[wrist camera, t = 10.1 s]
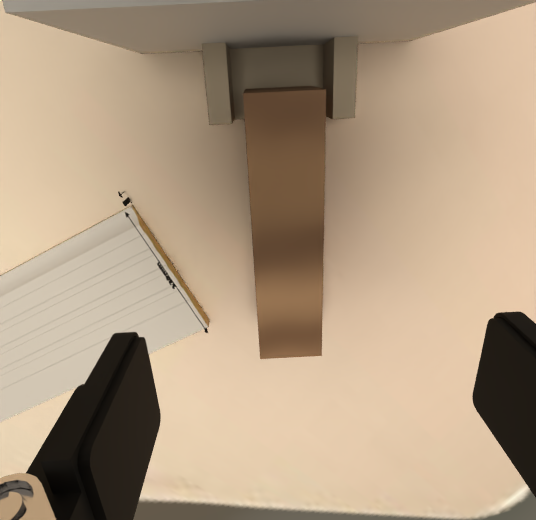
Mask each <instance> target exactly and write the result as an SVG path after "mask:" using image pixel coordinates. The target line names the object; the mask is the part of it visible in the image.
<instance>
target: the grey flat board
mask: <svg viewBox="0 0 536 520" xmlns="http://www.w3.org/2000/svg"><path fill="white" fill-rule="evenodd" d="M118 193H119V196H121V197H122V194H123V193H124V192H123V193H122V194H120V192H118ZM129 203H130V199H129V198H127V199H126V200H124V201H123V204H124V205H125V206H126V205H127V204H129ZM131 203H132V202H131ZM209 322H210V321H209V319H208V317H207V316H206V314H205V313H204V311H203V310H202V308H201V307H200V305H199V304H198V302H197V301H196V299H195V298H194V296H193V295H192V293H191V292H190V290H189V289H188V287H187V286H186V284H185V283H184V281H183V280H182V278H181V277H180V275H179V274H178V272H177V271H176V269H175V268H174V266H173V265H172V263H171V262H170V260H169V259H168V257H167V256H166V254H165V253H164V251H163V250H162V248H161V247H160V245H159V244H158V242H157V241H156V239H155V238H154V236H153V235H152V233H151V232H150V230H149V229H148V227H147V226H146V224H145V223H144V221H143V220H142V218H141V217H140V216H139V214H138V213H137V211H136V210H135V208H134V207H133V205H132V206H130V207H128V208H126V209H124V210H122V211H120V212H119V213H117V214H115V215H113V216H111V217H109V218H107V219H105V220H104V221H102V222H100V223H98V224H96V225H94V226H92V227H90V228H89V229H87V230H85V231H83V232H81V233H79V234H77V235H75V236H74V237H72V238H70V239H68V240H66V241H64V242H62V243H60V244H59V245H57V246H55V247H53V248H51V249H49V250H47V251H45V252H44V253H42V254H40V255H38V256H36V257H34V258H32V259H30V260H29V261H27V262H25V263H23V264H21V265H19V266H17V267H15V268H14V269H12V270H10V271H8V272H6V273H4V274H2V275H0V422H2V421H4V420H7V419H9V418H11V417H13V416H15V415H18V414H20V413H22V412H24V411H26V410H28V409H31V408H33V407H35V406H37V405H39V404H42V403H44V402H46V401H48V400H50V399H52V398H55V397H57V396H59V395H61V394H63V393H66V392H68V391H70V390H72V389H74V388H76V387H78V386H80V385H81V384H85V382H86V380H87V379H88V377H89V375H90V373H91V372H92V370H93V368H94V366H95V365H96V363H97V361H98V359H99V358H100V356H101V354H102V352H103V351H104V349H105V347H106V346H107V344H108V342H109V340H110V339H111V337H112V335H113V334H114V333H123V332H137V334H138V335H139V337H144V338H145V340H146V344H147V349H148V354H151V353H153V352H155V351H157V350H159V349H162V348H164V347H166V346H168V345H170V344H173V343H175V342H177V341H179V340H181V339H183V338H186V337H188V336H190V335H192V334H194V333H197V332H199V331H201V330H203V329H205V328H206V329H205V332H206V333H208V331H207V327H209Z"/></svg>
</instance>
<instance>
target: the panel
mask: <svg viewBox="0 0 536 520" xmlns="http://www.w3.org/2000/svg"><path fill="white" fill-rule="evenodd" d="M2 1H3V5H4V9H5V13H9V14H12V15H15V16H19V17H22V18H25V19H29V20H32V21H35V22H39V23H42V24H45V25H48V26H52V27H55V28H58V29H62V30H65V31H68V32H72V33H75V34H78V35H82V36H85V37H88V38H92V39H95V40H98V41H101V42H105V43H108V44H111V45H115V46H118V47H121V48H125V49H128V50H131V51H135V52H138V53H141V54H148V53H169V52H190V51H202V53H203V64H204V74H205V84H206V95H207V105H208V115H209V125H221V124H232V123H233V121H234V120H235V119H245V117H244V101H243V93H244V91H245V89H255V88H275V87H296V86H315V87H319V88H323V89H326V117H329V118H331V119H344V118H355V102H356V77H357V52H358V43H379V42H400V41H412V40H415V39H418V38H421V37H425V36H428V35H431V34H434V33H438V32H441V31H444V30H447V29H450V28H454V27H457V26H460V25H463V24H467V23H470V22H473V21H476V20H479V19H483V18H486V17H489V16H492V15H496V14H499V13H502V12H505V11H508V10H512V9H515V8H518V7H521V6H525V5H528V4H531V3H534V2H536V0H2Z"/></svg>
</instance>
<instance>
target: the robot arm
mask: <svg viewBox="0 0 536 520" xmlns="http://www.w3.org/2000/svg"><path fill="white" fill-rule="evenodd" d="M473 403H474V406H475V408H476V410H477V412H478V413H479V414H480V416H481V417H482V419H483V420H484V422H485V423H486V425H487V426H488V428H489V429H490V431H491V432H492V434H493V435H494V437H495V438H496V440H497V441H498V443H499V444H500V445H501V447H502V448H503V450H504V451H505V453H506V454H507V456H508V457H509V459H510V460H511V462H512V463H513V465H514V466H515V468H516V469H517V471H518V472H519V474H520V475H521V476H522V478H523V479H524V481H525V482H526V484H527V485H528V487H529V488H530V490H531V491H532V493H533V494H534V496H535V497H536V324H535V323H534V322H533V321H532V320H531V319H530V318H528V317H527V316H526V315H525V314H523V313H522V312H504V313H497V314H496V315H495V316H494V318H492V319H490V320H489V321H488V324H487V329H486V334H485V339H484V343H483V348H482V353H481V358H480V362H479V367H478V372H477V377H476V381H475V386H474V391H473ZM159 426H160V409H159V404H158V399H157V394H156V389H155V384H154V379H153V374H152V369H151V364H150V359H149V354H148V349H147V344H146V340H145V338H144V337H139V335H138V334H137V332H123V333H114V334H113V335H112V337H111V339H110V340H109V342H108V344H107V346H106V347H105V349H104V351H103V352H102V354H101V356H100V358H99V359H98V361H97V363H96V365H95V366H94V368H93V370H92V372H91V373H90V375H89V377H88V379H87V380H86V382H85V384H81V385H80V386H78V387H77V389H76V390H75V391H74V393H73V395H72V396H71V398H70V400H69V401H68V403H67V405H66V406H65V408H64V410H63V411H62V413H61V415H60V417H59V418H58V420H57V422H56V423H55V425H54V427H53V428H52V430H51V432H50V433H49V435H48V437H47V438H46V440H45V442H44V444H43V445H42V447H41V449H40V450H39V452H38V454H37V455H36V457H35V459H34V460H33V462H32V464H31V465H30V467H29V469H28V471H27V472H26V473H17V474H13V475H8V476H5V477H2V478H0V520H133V518H134V514H135V511H136V508H137V504H138V501H139V497H140V493H141V490H142V486H143V483H144V479H145V476H146V472H147V469H148V465H149V462H150V458H151V455H152V451H153V447H154V444H155V440H156V437H157V433H158V430H159Z"/></svg>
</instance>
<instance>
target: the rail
mask: <svg viewBox="0 0 536 520" xmlns="http://www.w3.org/2000/svg"><path fill="white" fill-rule="evenodd" d="M243 101H244V117H245V132H246V147H247V163H248V178H249V193H250V209H251V224H252V239H253V254H254V270H255V285H256V300H257V316H258V331H259V346H260V359H267V358H287V357H306V356H322V300H323V243H324V186H325V128H326V89H323V88H319V87H315V86H296V87H275V88H255V89H245V91H244V93H243Z"/></svg>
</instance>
